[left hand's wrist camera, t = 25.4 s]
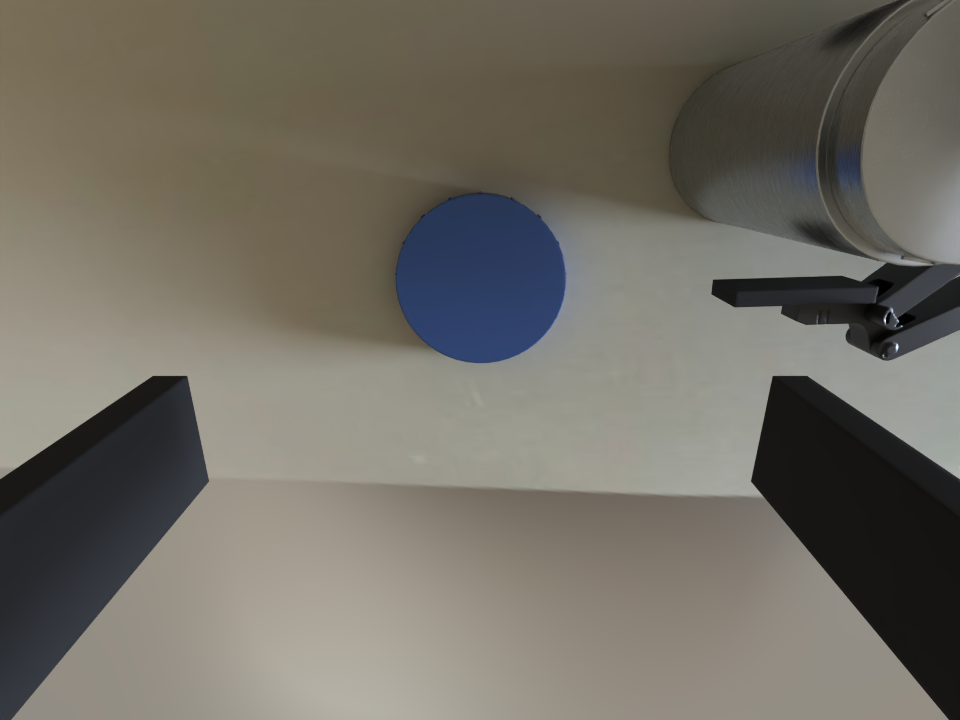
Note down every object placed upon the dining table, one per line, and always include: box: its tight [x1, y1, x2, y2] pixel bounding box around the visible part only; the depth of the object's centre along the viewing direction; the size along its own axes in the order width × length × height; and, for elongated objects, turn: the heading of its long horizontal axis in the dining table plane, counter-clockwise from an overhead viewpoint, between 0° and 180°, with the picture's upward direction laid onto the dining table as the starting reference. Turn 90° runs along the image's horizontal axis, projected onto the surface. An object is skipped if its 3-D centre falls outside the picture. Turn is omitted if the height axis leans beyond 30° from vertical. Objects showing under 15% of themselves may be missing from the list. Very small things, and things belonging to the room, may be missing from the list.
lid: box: [396, 191, 566, 363], centre depth 32 cm, size 10×10×2 cm
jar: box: [669, 0, 960, 266], centre depth 23 cm, size 8×8×16 cm
